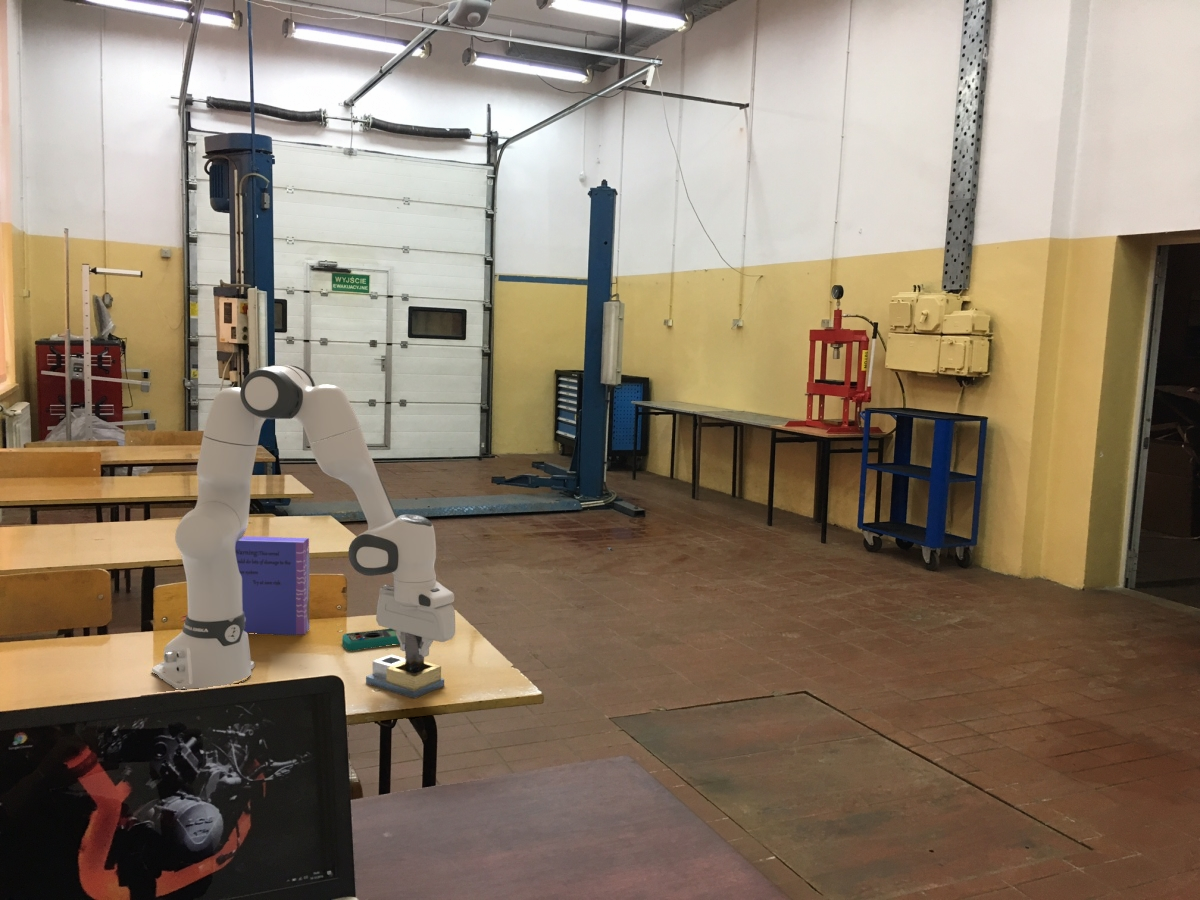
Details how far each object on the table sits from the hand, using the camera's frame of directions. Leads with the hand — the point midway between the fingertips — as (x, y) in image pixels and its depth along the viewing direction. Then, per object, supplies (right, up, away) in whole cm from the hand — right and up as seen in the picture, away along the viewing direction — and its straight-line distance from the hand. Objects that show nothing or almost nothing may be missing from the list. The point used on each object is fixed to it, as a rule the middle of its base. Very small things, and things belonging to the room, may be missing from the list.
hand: (414, 653), depth 206 cm
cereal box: (-43, -2, +35) cm, 55 cm away
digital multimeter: (-15, -4, +29) cm, 33 cm away
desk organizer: (-2, -7, +2) cm, 8 cm away
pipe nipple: (0, -4, +1) cm, 4 cm away
